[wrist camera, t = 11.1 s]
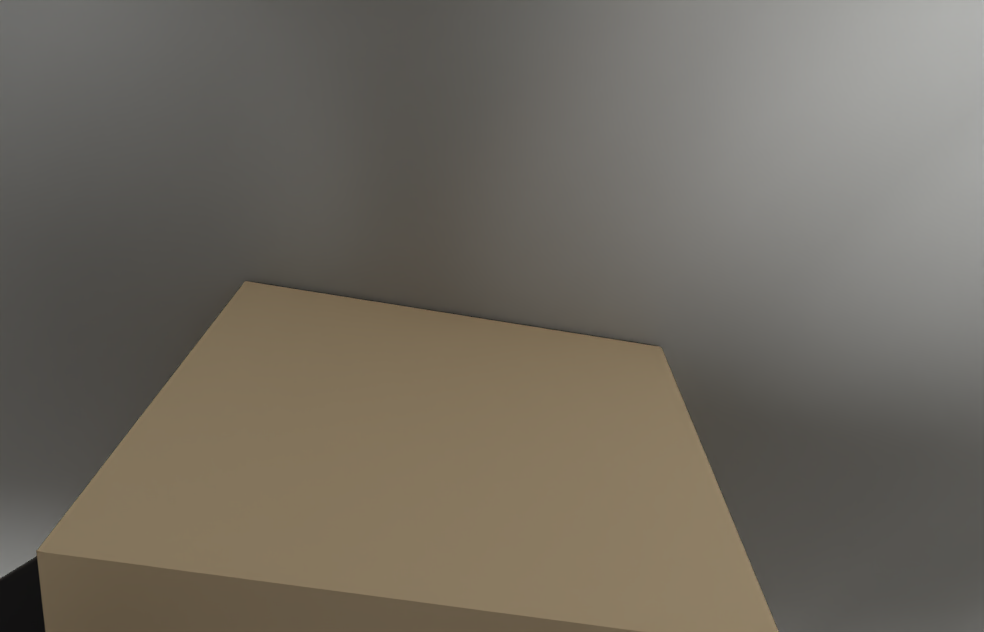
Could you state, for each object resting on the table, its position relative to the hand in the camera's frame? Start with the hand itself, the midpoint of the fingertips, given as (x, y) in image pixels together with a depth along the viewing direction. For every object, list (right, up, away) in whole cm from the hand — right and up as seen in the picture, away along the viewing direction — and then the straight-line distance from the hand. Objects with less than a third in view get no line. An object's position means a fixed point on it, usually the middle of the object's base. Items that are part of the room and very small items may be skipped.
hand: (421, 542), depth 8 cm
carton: (0, 0, +1) cm, 1 cm away
